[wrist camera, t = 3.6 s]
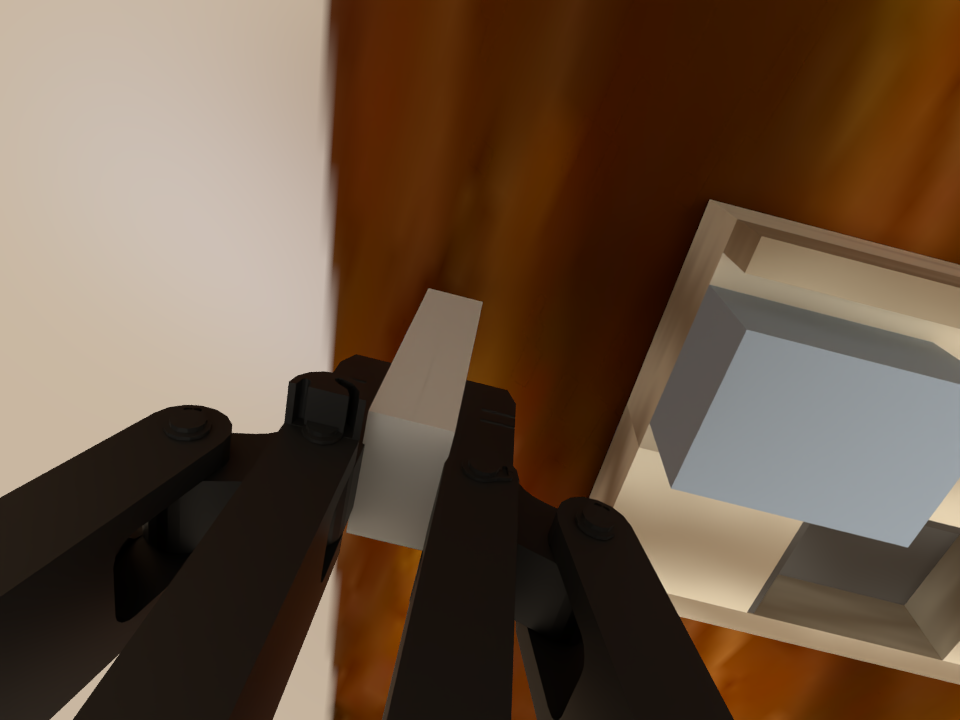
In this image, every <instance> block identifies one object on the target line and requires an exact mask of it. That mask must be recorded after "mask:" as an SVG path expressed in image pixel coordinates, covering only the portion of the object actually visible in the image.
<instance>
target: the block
mask: <svg viewBox="0 0 960 720" xmlns="http://www.w3.org/2000/svg"><path fill="white" fill-rule="evenodd" d="M650 426H651V429H652V432H653V435H654V439H655V442H656V445H657V448H658V451H659V454H660V457H661V460H662V463H663V466H664V469H665V472H666V475H667V478H668V481H669V484H670V487H671V489H675V490H679V491H683V492H687V493H691V494H695V495H699V496H703V497H707V498H711V499H715V500H719V501H723V502H727V503H731V504H735V505H739V506H743V507H747V508H751V509H755V510H759V511H763V512H767V513H771V514H775V515H779V516H783V517H787V518H791V519H795V520H799V521H803V522H807V523H811V524H815V525H819V526H823V527H827V528H831V529H835V530H839V531H843V532H848V533H852V534H856V535H860V536H864V537H868V538H872V539H876V540H880V541H884V542H888V543H892V544H896V545H900V546H904V547H909V545H910V544H911V543H912V541H913V540H914V539H915V537H916V536H917V535H918V533H919V532H920V531H921V529H922V528H923V527H924V525H925V524H926V523H927V521H928V520H929V519H930V517H931V516H932V514H933V513H934V512H935V510H936V509H937V508H938V506H939V505H940V504H941V502H942V501H943V500H944V498H945V497H946V496H947V494H948V493H949V492H950V490H951V489H952V487H953V486H954V485H955V483H956V482H957V481H958V479H959V478H960V360H959V359H957V358H956V357H954V356H953V355H951V354H950V353H948V352H947V351H945V350H944V349H942V348H941V347H939V346H938V345H936V344H935V343H933V342H930V341H926V340H922V339H918V338H914V337H910V336H906V335H902V334H899V333H895V332H891V331H887V330H883V329H879V328H875V327H872V326H868V325H864V324H860V323H856V322H852V321H848V320H844V319H841V318H837V317H833V316H829V315H825V314H821V313H817V312H814V311H810V310H806V309H802V308H798V307H794V306H790V305H786V304H783V303H779V302H775V301H771V300H767V299H763V298H759V297H756V296H752V295H748V294H744V293H740V292H736V291H732V290H728V289H725V288H721V287H717V286H713V285H709V286H708V289H707V291H706V293H705V296H704V298H703V300H702V303H701V305H700V307H699V310H698V312H697V314H696V317H695V319H694V321H693V323H692V326H691V328H690V330H689V333H688V335H687V337H686V340H685V342H684V344H683V347H682V349H681V351H680V354H679V356H678V358H677V361H676V363H675V365H674V368H673V370H672V372H671V375H670V377H669V379H668V381H667V384H666V386H665V388H664V391H663V393H662V395H661V398H660V400H659V402H658V405H657V407H656V409H655V412H654V414H653V416H652V419H651V421H650Z"/></svg>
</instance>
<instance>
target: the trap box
mask: <svg viewBox="0 0 960 720" xmlns="http://www.w3.org/2000/svg"><path fill="white" fill-rule="evenodd" d="M709 285H713V286H717V287H721V288H725V289H728V290H732V291H736V292H740V293H744V294H748V295H752V296H756V297H759V298H763V299H767V300H771V301H775V302H779V303H783V304H786V305H790V306H794V307H798V308H802V309H806V310H810V311H814V312H817V313H821V314H825V315H829V316H833V317H837V318H841V319H844V320H848V321H852V322H856V323H860V324H864V325H868V326H872V327H875V328H879V329H883V330H887V331H891V332H895V333H899V334H902V335H906V336H910V337H914V338H918V339H922V340H926V341H930V342H933V343H935V344H936V345H938V346H939V347H941V348H942V349H944V350H945V351H947V352H948V353H950V354H951V355H953V356H954V357H956V358H957V359H959V360H960V265H958V264H954V263H951V262H947V261H943V260H939V259H935V258H932V257H928V256H924V255H920V254H916V253H912V252H909V251H905V250H901V249H897V248H893V247H890V246H886V245H882V244H878V243H874V242H871V241H867V240H863V239H859V238H855V237H852V236H848V235H844V234H840V233H836V232H832V231H829V230H825V229H821V228H817V227H813V226H810V225H806V224H802V223H798V222H794V221H791V220H787V219H783V218H779V217H775V216H772V215H768V214H764V213H760V212H756V211H752V210H749V209H745V208H741V207H737V206H733V205H730V204H726V203H722V202H718V201H714V200H711V199H710V200H709V202H708V205H707V207H706V210H705V212H704V215H703V217H702V219H701V222H700V224H699V227H698V229H697V232H696V234H695V237H694V239H693V242H692V244H691V247H690V249H689V252H688V254H687V257H686V259H685V262H684V264H683V266H682V269H681V271H680V274H679V276H678V279H677V281H676V284H675V286H674V289H673V291H672V294H671V296H670V299H669V301H668V304H667V306H666V309H665V311H664V313H663V316H662V318H661V321H660V323H659V326H658V328H657V331H656V333H655V336H654V338H653V341H652V343H651V346H650V348H649V351H648V353H647V356H646V358H645V360H644V363H643V365H642V368H641V370H640V373H639V375H638V378H637V380H636V383H635V385H634V388H633V390H632V393H631V395H630V398H629V400H628V403H627V405H626V407H625V410H624V412H623V415H622V417H621V420H620V422H619V425H618V427H617V430H616V432H615V435H614V437H613V440H612V442H611V445H610V447H609V450H608V452H607V455H606V457H605V459H604V462H603V464H602V467H601V469H600V472H599V474H598V477H597V479H596V482H595V484H594V487H593V489H592V492H591V494H590V497H589V498H591V499H595V500H599V501H601V502H603V503H605V504H607V505H609V506H611V507H613V508H614V509H615V510H617V511H618V512H619V513H621V514H622V515H623V516H624V517H625V518H626V520H627V521H628V522H629V524H630V525H631V526H632V528H633V530H634V532H635V534H636V536H637V537H638V539H639V541H640V543H641V545H642V547H643V549H644V551H645V553H646V554H647V556H648V558H649V560H650V562H651V564H652V566H653V568H654V570H655V572H656V573H657V575H658V577H659V579H660V581H661V583H662V585H663V587H664V589H665V590H666V592H667V594H668V596H669V598H670V600H671V602H672V604H673V606H674V607H675V609H676V611H677V613H678V615H679V616H680V617H684V618H688V619H692V620H696V621H701V622H705V623H709V624H713V625H717V626H721V627H725V628H729V629H734V630H738V631H742V632H746V633H750V634H754V635H758V636H762V637H766V638H771V639H775V640H779V641H783V642H787V643H791V644H795V645H799V646H803V647H808V648H812V649H816V650H820V651H824V652H828V653H832V654H836V655H840V656H845V657H849V658H853V659H857V660H861V661H865V662H869V663H873V664H877V665H882V666H886V667H890V668H894V669H898V670H902V671H906V672H910V673H914V674H919V675H923V676H927V677H931V678H935V679H939V680H943V681H947V682H951V683H956V684H960V478H959V479H958V481H957V482H956V483H955V485H954V486H953V487H952V489H951V490H950V492H949V493H948V494H947V496H946V497H945V498H944V500H943V501H942V502H941V504H940V505H939V506H938V508H937V509H936V510H935V512H934V513H933V514H932V516H931V517H930V519H929V520H928V521H927V523H926V524H925V525H924V527H923V528H922V529H921V531H920V532H919V533H918V535H917V536H916V537H915V539H914V540H913V541H912V543H911V544H910V545H909V547H904V546H900V545H896V544H892V543H888V542H884V541H880V540H876V539H872V538H868V537H864V536H860V535H856V534H852V533H848V532H843V531H839V530H835V529H831V528H827V527H823V526H819V525H815V524H811V523H807V522H803V521H799V520H795V519H791V518H787V517H783V516H779V515H775V514H771V513H767V512H763V511H759V510H755V509H751V508H747V507H743V506H739V505H735V504H731V503H727V502H723V501H719V500H715V499H711V498H707V497H703V496H699V495H695V494H691V493H687V492H683V491H679V490H675V489H671V487H670V484H669V481H668V478H667V475H666V472H665V469H664V466H663V463H662V460H661V457H660V454H659V451H658V448H657V445H656V442H655V439H654V435H653V432H652V429H651V426H650V421H651V419H652V416H653V414H654V412H655V409H656V407H657V405H658V402H659V400H660V398H661V395H662V393H663V391H664V388H665V386H666V384H667V381H668V379H669V377H670V375H671V372H672V370H673V368H674V365H675V363H676V361H677V358H678V356H679V354H680V351H681V349H682V347H683V344H684V342H685V340H686V337H687V335H688V333H689V330H690V328H691V326H692V323H693V321H694V319H695V317H696V314H697V312H698V310H699V307H700V305H701V303H702V300H703V298H704V296H705V293H706V291H707V289H708V286H709Z"/></svg>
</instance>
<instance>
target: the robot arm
mask: <svg viewBox="0 0 960 720" xmlns="http://www.w3.org/2000/svg"><path fill="white" fill-rule="evenodd" d="M482 304H483V302H481V301H477V300H473V299H469V298H465V297H461V296H457V295H453V294H449V293H445V292H441V291H438V290H434V289H430V288H428V290H427V292H426V295H425V297H424V299H423V301H422V303H421V305H420V307H419V309H418V311H417V313H416V315H415V317H414V319H413V321H412V323H411V325H410V327H409V329H408V331H407V333H406V335H405V337H404V339H403V341H402V343H401V345H400V348H399V350H398V352H397V354H396V356H395V358H394V360H393V362H392V363H389V362H385V361H381V360H377V359H373V358H369V357H365V356H360V355H354V356H352V357H350V358H348V359H346V360H344V361H341V362H340V363H339V365H338V366H337V368H336V369H335V371H334V372H333V373H331V372H309V373H305V374H302V375H298V376H296V377H295V378H293V379H292V380H291V381H289V386H288V396H287V404H286V414H285V422H284V424H283V426H282V427H281V428H280V430H279V431H278V432H274V433H269V434H243V433H232V424H231V422H230V420H229V419H228V417H227V416H226V415H224V414H223V413H221V412H219V411H218V410H215V409H211V408H208V407H204V406H197V405H182V406H175V407H169V408H166V409H163V410H161V411H158V412H155V413H153V414H152V415H150V416H148V417H146V418H144V419H142V420H140V421H139V422H137V423H135V424H133V425H131V426H130V427H128V428H126V429H124V430H122V431H120V432H119V433H117V434H115V435H113V436H111V437H110V438H108V439H106V440H104V441H102V442H101V443H99V444H97V445H95V446H93V447H91V448H90V449H88V450H86V451H85V452H82V453H80V454H79V455H77V456H75V457H73V458H72V459H70V460H68V461H66V462H65V463H62V464H61V465H59V466H57V467H55V468H53V469H51V470H50V471H48V472H46V473H44V474H42V475H41V476H39V477H37V478H35V479H33V480H31V481H30V482H28V483H26V484H24V485H22V486H21V487H19V488H17V489H15V490H13V491H11V492H10V493H8V494H6V495H4V496H2V497H1V498H0V720H50V719H51V718H52V717H53V716H54V715H55V714H56V713H57V712H58V711H59V710H60V709H61V708H62V707H63V706H65V705H66V704H67V703H68V702H69V701H70V700H71V699H72V698H73V697H74V696H75V695H76V694H77V693H78V692H79V691H80V690H82V689H83V688H84V687H85V686H86V685H87V684H88V683H89V682H90V681H91V680H92V679H93V678H94V677H95V676H96V675H97V674H98V673H100V672H101V671H102V670H103V669H104V668H105V667H106V666H107V665H108V664H109V663H110V662H111V661H112V660H113V659H114V658H115V657H117V656H118V654H119V656H118V657H117V658H116V660H115V661H114V663H113V664H112V666H111V667H110V668H109V670H108V671H107V673H106V674H105V675H104V677H103V678H102V680H101V681H100V682H99V684H98V685H97V687H96V688H95V689H94V691H93V692H92V694H91V695H90V696H89V698H88V699H87V701H86V702H85V703H84V705H83V706H82V708H81V709H80V710H79V712H78V713H77V715H76V716H75V717H74V719H73V720H273V717H274V715H275V712H276V710H277V707H278V704H279V702H280V700H281V697H282V695H283V692H284V690H285V687H286V685H287V682H288V680H289V677H290V675H291V672H292V670H293V667H294V665H295V662H296V660H297V657H298V655H299V652H300V649H301V647H302V645H303V642H304V640H305V637H306V635H307V632H308V630H309V627H310V625H311V622H312V620H313V617H314V615H315V612H316V610H317V607H318V605H319V602H320V600H321V597H322V595H323V592H324V590H325V587H326V585H327V582H328V580H329V577H330V575H331V572H332V570H333V567H334V565H335V562H336V560H337V557H338V555H339V551H340V546H341V540H342V535H343V531H344V528H345V526H346V524H347V521H348V519H349V521H348V526H347V533H351V534H355V535H359V536H364V537H368V538H372V539H376V540H380V541H385V542H389V543H393V544H397V545H401V546H405V547H410V548H414V549H418V550H422V554H421V558H420V562H419V566H418V570H417V574H416V577H415V581H414V585H413V589H412V593H411V597H410V604H409V608H408V612H407V616H406V621H405V625H404V629H403V633H402V638H401V642H400V646H399V650H398V655H397V659H396V663H395V668H394V672H393V676H392V680H391V685H390V689H389V693H388V697H387V702H386V706H385V710H384V714H383V719H382V720H511V707H512V677H513V646H514V620H515V621H516V633H517V637H518V642H519V646H520V650H521V654H522V658H523V663H524V667H525V671H526V675H527V679H528V683H529V688H530V692H531V696H532V700H533V704H534V708H535V713H536V717H537V720H734V719H733V717H732V715H731V713H730V712H729V710H728V708H727V706H726V704H725V702H724V700H723V698H722V696H721V695H720V693H719V691H718V689H717V687H716V685H715V683H714V681H713V679H712V678H711V676H710V674H709V672H708V670H707V668H706V666H705V664H704V662H703V660H702V659H701V657H700V655H699V653H698V651H697V649H696V647H695V645H694V643H693V642H692V640H691V638H690V636H689V634H688V632H687V630H686V628H685V626H684V625H683V623H682V621H681V619H680V617H679V615H678V613H677V611H676V609H675V607H674V606H673V604H672V602H671V600H670V598H669V596H668V594H667V592H666V590H665V589H664V587H663V585H662V583H661V581H660V579H659V577H658V575H657V573H656V572H655V570H654V568H653V566H652V564H651V562H650V560H649V558H648V556H647V554H646V553H645V551H644V549H643V547H642V545H641V543H640V541H639V539H638V537H637V536H636V534H635V532H634V530H633V528H632V526H631V525H630V524H629V522H628V521H627V520H626V518H625V517H624V516H623V515H622V514H621V513H619V512H618V511H617V510H615V509H614V508H613V507H611V506H609V505H607V504H605V503H603V502H601V501H599V500H595V499H591V498H586V497H574V498H569V499H567V500H565V501H563V502H561V504H560V506H559V508H558V509H557V508H555V507H552V506H550V505H548V504H546V503H544V502H542V501H540V500H539V499H537V498H535V497H533V496H532V495H531V494H529V493H528V492H527V491H526V490H524V489H523V488H522V486H521V485H520V484H519V478H518V474H517V470H516V469H515V468H514V467H513V452H514V430H515V429H514V427H515V408H516V403H515V402H514V400H513V399H512V397H511V395H510V394H509V392H508V391H507V390H504V389H500V388H496V387H492V386H488V385H484V384H480V383H476V382H472V381H468V380H466V378H467V374H468V369H469V364H470V360H471V355H472V350H473V346H474V341H475V336H476V332H477V327H478V322H479V318H480V313H481V308H482Z"/></svg>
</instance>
